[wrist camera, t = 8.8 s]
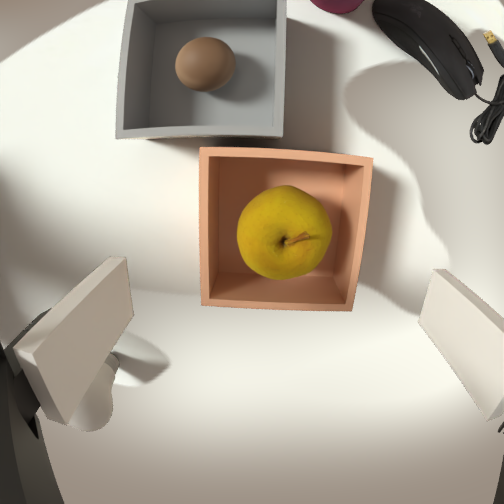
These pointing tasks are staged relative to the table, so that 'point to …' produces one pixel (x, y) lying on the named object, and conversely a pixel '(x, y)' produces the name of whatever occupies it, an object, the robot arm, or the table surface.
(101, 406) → the lightbulb
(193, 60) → the brown ball
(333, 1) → the cup
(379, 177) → the table surface
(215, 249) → the orange square tray
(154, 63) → the grey square tray
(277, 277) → the apple
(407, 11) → the computer mouse
